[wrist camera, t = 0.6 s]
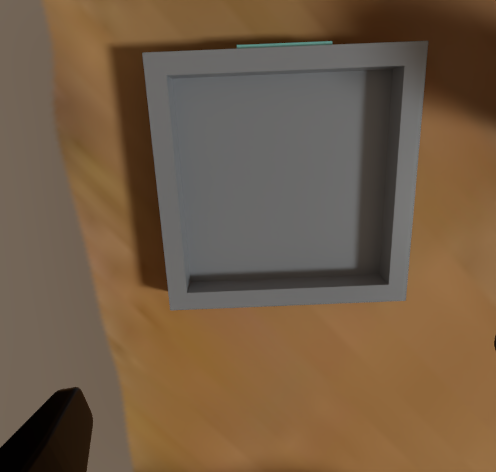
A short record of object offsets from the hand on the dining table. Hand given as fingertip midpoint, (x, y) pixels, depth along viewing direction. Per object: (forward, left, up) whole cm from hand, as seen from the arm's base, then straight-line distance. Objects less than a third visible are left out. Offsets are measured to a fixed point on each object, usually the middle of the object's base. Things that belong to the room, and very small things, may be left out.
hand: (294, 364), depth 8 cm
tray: (+2, -1, -14) cm, 14 cm away
